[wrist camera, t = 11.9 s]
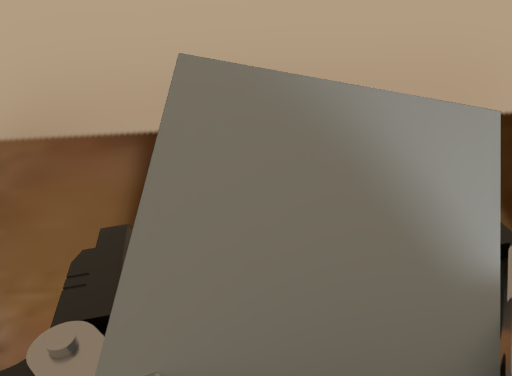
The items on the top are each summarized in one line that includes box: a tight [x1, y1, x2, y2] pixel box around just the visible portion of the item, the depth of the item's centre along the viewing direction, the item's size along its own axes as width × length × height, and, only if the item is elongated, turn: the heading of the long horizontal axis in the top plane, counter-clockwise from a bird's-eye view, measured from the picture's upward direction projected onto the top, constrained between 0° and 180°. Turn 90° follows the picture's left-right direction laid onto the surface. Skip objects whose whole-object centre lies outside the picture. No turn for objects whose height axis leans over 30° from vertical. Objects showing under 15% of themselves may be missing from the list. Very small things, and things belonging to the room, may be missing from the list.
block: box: [95, 53, 501, 376], centre depth 12 cm, size 6×6×10 cm
